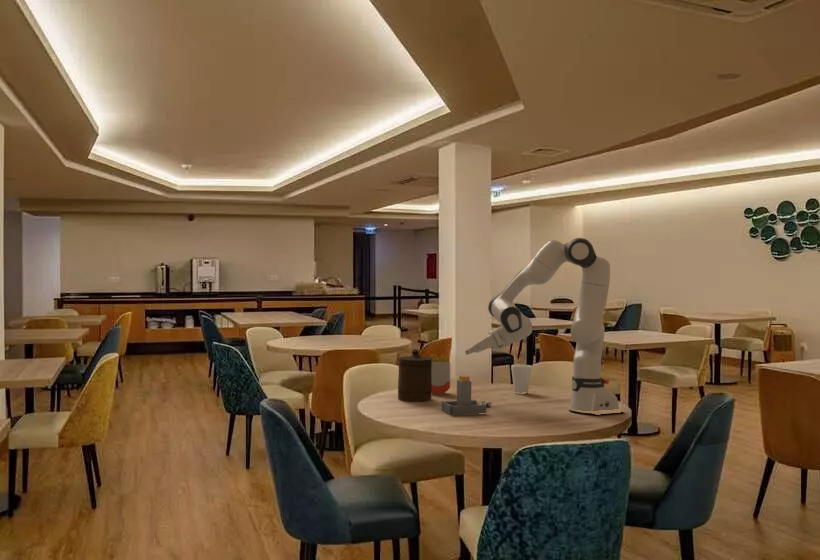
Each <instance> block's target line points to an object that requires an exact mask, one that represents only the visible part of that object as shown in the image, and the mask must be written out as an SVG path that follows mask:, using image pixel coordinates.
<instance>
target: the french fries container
mask: <svg viewBox="0 0 820 560" xmlns="http://www.w3.org/2000/svg"><path fill="white" fill-rule="evenodd" d="M429 358H431V359H432V365H431V377H432V390H431V393H436V394H435V395H444V394H445V393H446V392H447V391H449V390H450V389H451V362H450V356H446V357H444V355H443V354H441V355H440V358H439V357H438V355H437V354H435V355H434V354H430V355H429Z"/></svg>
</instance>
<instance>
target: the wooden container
mask: <svg viewBox="0 0 820 560" xmlns="http://www.w3.org/2000/svg"><path fill="white" fill-rule="evenodd" d="M431 365H432V359H431V358H430V356H429V357H428V356H421V355H420V350H419V349H416V348H414V349H412V350H411V354H410V356H408V355H407V356H399V357H398V376H397V378H398V379H397V398H398V400H400V401H403V402H412V403H413V402H416V403H418V402H419V403H420V402H428V401H431V400H432V394H431V390H432V377H431Z"/></svg>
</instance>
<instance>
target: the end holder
mask: <svg viewBox="0 0 820 560" xmlns="http://www.w3.org/2000/svg"><path fill="white" fill-rule="evenodd" d="M477 403H478V401H477V400H476V399H473V400H472V399H471V405H466V406H457V400H445V401H444V400H443V401H441V411H442V412H444V413H445V412H446V413H445V414H447V415H448V416H450V415H456V416H467V415H466V414H479V413H486V414H487V407H486V405H482V404H479V405H477Z"/></svg>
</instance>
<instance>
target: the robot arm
mask: <svg viewBox="0 0 820 560" xmlns="http://www.w3.org/2000/svg"><path fill="white" fill-rule="evenodd" d="M566 262H568V263H571V264H573V265H576V266H579V267H581V269H582V276H581V277H582V278H581V283H580V288H579V295H578V296H579V297H578V302H577V305H576V309H575V312H574V316H573V320H572V324H571V327H570V336H571V338H572V340H574V342H575V343H576V345H575V349H574V355H573V365H572V367H573V370H572V372H573V374H572V377H571V389H572V390H571V398H570V404H569V407H568V409H569V408H571V409H574V410H581V411H599V410H614V409H619V408H620V406H619V401H618V397H617V396H616V395H615V394H613V393H612V392H611V390H610V389H608V388H606V387H605V385H610V380H609V379H607V378H602V357H603V356H602V355H603V354H602V353H603V349H604V348H603V347H604V342H605V341H604V340H605V331H606V330H605V325H604V323H603V321H602V319H603V316H604V312H605V309H606V306H607V301H608V296H609V295H608V294H609V287H610V279H611V265H610V261H608V259H606V258H604V257H601V256H597V254H596V251H595V248H594V247H593V245H592V243H591V242H590V241H589V240H588V239H586V238H583V237H576V238H572V239H571V240H570V241H568V242H566V243H565V244H564V243H562V242H560V241H559V240H556V239H551V240H548V241H547V242H545V243H544V245H543V246H542V247H540V249H539V250H538V251H537V252H536V253H535V255H533V257H532V259H531V260H530V261H529V262H528V264H527V265H526V266H525V267H523V268H522V269H520V271H519V272H518V273H517V274H515V276H514V277H513V278H512V279H511V280H510V281H509V283H507V285H506V286H505V287H504V288H503V290H502V291H500V292H499V293H498V294H496V295H494V296H493V297H492V298H491V299H490V301H489V303H488V308H487V309H488V312H489V314H490V315H491V316H492V317H493V318H494V319H496V320H497V321H498V322H499V324H500V326H498V327H496V328H494V329H492V330H489V331H487V333H488V334H487V335H485V337H484V338H483V339H481V340H480V341H478V342H477V343H476V344H474V345H472V347H470V348H468V349H467V350H465V351H464V353H465V355H471V354H473V353H475V354H478V353H481V352H482V351H485V350H488V349H492V350H495V351H499V350H502V349H504V348H506V347H509V346H510V345H511V344H513V343H518V342H520V341H522V340H524V339H525V338H528V337H529V336H530V335H531V334H532V333H533V324H532V321H531V319H530V318H529V317H528V316H526V315H524V314H523V313H522V312H521V311H520V309H519V308H518V307H517V306H516V305H515V304H514V303H513V302H514V300H515V299H516V297H518V296H519V294H520V293H521V292H522V291H523V290H524V289H525V288H527V287H528V286H530V285H537V286H538V285H539V286H540V285H545V284H546V283H549V281H550V280H552V278H553V277H554V275H555V274H556V273H557V271H558V270H559V269H560V267H561V266H562V265H563V264H564V263H566Z"/></svg>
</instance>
